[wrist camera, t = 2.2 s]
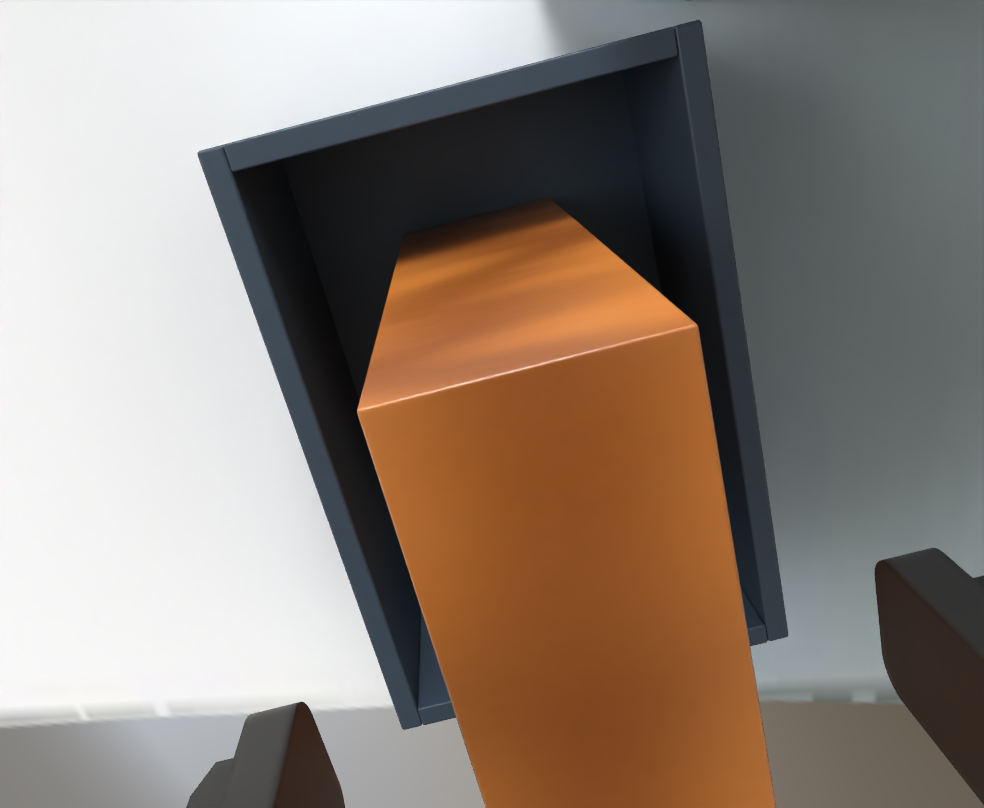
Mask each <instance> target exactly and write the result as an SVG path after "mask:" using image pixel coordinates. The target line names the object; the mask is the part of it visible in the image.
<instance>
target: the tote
mask: <svg viewBox="0 0 984 808" xmlns="http://www.w3.org/2000/svg"><path fill="white" fill-rule="evenodd" d="M198 158H199V160H200V163H201V166H202V169H203V172H204V174H205V177H206V180H207V183H208V186H209V188H210V191H211V194H212V197H213V200H214V202H215V205H216V208H217V211H218V214H219V216H220V219H221V222H222V225H223V228H224V230H225V233H226V236H227V239H228V242H229V244H230V247H231V250H232V253H233V256H234V258H235V261H236V264H237V267H238V270H239V272H240V275H241V278H242V281H243V284H244V286H245V289H246V292H247V295H248V298H249V300H250V303H251V306H252V309H253V312H254V314H255V317H256V320H257V323H258V326H259V329H260V331H261V334H262V337H263V340H264V343H265V345H266V348H267V351H268V354H269V357H270V359H271V362H272V365H273V368H274V371H275V373H276V376H277V379H278V382H279V385H280V387H281V390H282V393H283V396H284V399H285V401H286V404H287V407H288V410H289V413H290V415H291V418H292V421H293V424H294V427H295V429H296V432H297V435H298V438H299V441H300V443H301V446H302V449H303V452H304V455H305V457H306V460H307V463H308V466H309V469H310V471H311V474H312V477H313V480H314V483H315V485H316V488H317V491H318V494H319V497H320V500H321V502H322V505H323V508H324V511H325V514H326V516H327V519H328V522H329V525H330V528H331V530H332V533H333V536H334V539H335V542H336V544H337V547H338V550H339V553H340V556H341V558H342V561H343V564H344V567H345V570H346V572H347V575H348V578H349V581H350V584H351V586H352V589H353V592H354V595H355V598H356V600H357V603H358V606H359V609H360V612H361V614H362V617H363V620H364V623H365V626H366V628H367V631H368V634H369V637H370V640H371V642H372V645H373V648H374V651H375V654H376V656H377V659H378V662H379V665H380V668H381V670H382V673H383V676H384V679H385V682H386V685H387V687H388V690H389V693H390V696H391V699H392V701H393V704H394V707H395V710H396V713H397V715H398V718H399V721H400V724H401V727H402V729H409V728H413V727H417V726H421V725H422V723H423V725H427V724H431V723H435V722H439V721H443V720H447V719H451V718H456V715H455V712H454V709H453V706H452V703H451V699H450V696H449V693H448V690H447V687H446V684H445V681H444V678H443V675H442V672H441V669H440V666H439V663H438V660H437V656H436V653H435V650H434V647H433V644H432V641H431V638H430V635H429V632H428V629H427V626H426V623H425V620H424V617H423V613H422V610H421V607H420V604H419V601H418V598H417V595H416V592H415V589H414V586H413V583H412V580H411V577H410V574H409V570H408V567H407V564H406V561H405V558H404V555H403V552H402V549H401V546H400V543H399V540H398V537H397V534H396V531H395V527H394V524H393V521H392V518H391V515H390V512H389V509H388V506H387V503H386V500H385V497H384V494H383V491H382V488H381V484H380V481H379V478H378V475H377V472H376V469H375V466H374V463H373V460H372V457H371V454H370V451H369V448H368V445H367V441H366V438H365V435H364V432H363V429H362V426H361V423H360V420H359V417H358V414H357V409H358V406H359V402H360V398H361V394H362V390H363V387H364V383H365V379H366V375H367V371H368V368H369V364H370V360H371V356H372V352H373V349H374V345H375V341H376V337H377V334H378V330H379V326H380V322H381V318H382V315H383V311H384V307H385V303H386V299H387V296H388V292H389V288H390V284H391V280H392V277H393V273H394V269H395V265H396V261H397V258H398V254H399V250H400V246H401V242H402V239H403V235H405V234H409V233H413V232H416V231H420V230H424V229H428V228H432V227H436V226H440V225H443V224H447V223H451V222H455V221H459V220H463V219H467V218H471V217H474V216H478V215H482V214H486V213H490V212H494V211H498V210H501V209H505V208H509V207H513V206H517V205H521V204H525V203H529V202H532V201H536V200H540V199H544V198H550V199H552V200H553V201H554V202H555V203H556V204H557V205H559V206H560V207H561V208H562V209H563V210H564V211H566V212H567V213H568V214H569V215H570V216H571V217H573V218H574V219H575V220H576V221H577V222H578V223H580V224H581V225H582V226H583V227H584V228H585V229H587V230H588V231H589V232H590V233H591V234H592V235H594V236H595V237H596V238H597V239H598V240H599V241H601V242H602V243H603V244H604V245H605V246H606V247H608V248H609V249H610V250H611V251H612V252H613V253H615V254H616V255H617V256H618V257H619V258H620V259H622V260H623V261H624V262H625V263H626V264H627V265H629V266H630V267H631V268H632V269H633V270H634V271H636V272H637V273H638V274H639V275H640V276H641V277H643V278H644V279H645V280H646V281H647V282H648V283H650V284H651V285H652V286H653V287H654V288H655V289H656V290H658V291H659V292H660V293H661V294H662V295H663V296H665V297H666V298H667V299H668V300H669V301H670V302H672V303H673V304H674V305H675V306H676V307H677V308H679V309H680V310H681V311H682V312H683V313H684V314H686V315H687V316H688V317H689V318H690V319H691V320H693V321H694V322H695V323H696V324H697V325H698V328H699V335H700V341H701V347H702V353H703V359H704V365H705V372H706V378H707V384H708V390H709V396H710V402H711V409H712V415H713V421H714V427H715V433H716V439H717V446H718V452H719V458H720V464H721V470H722V476H723V483H724V489H725V495H726V501H727V507H728V513H729V520H730V526H731V532H732V538H733V544H734V550H735V557H736V563H737V569H738V575H739V581H740V587H741V594H742V600H743V606H744V612H745V618H746V624H747V631H748V637H749V643H750V646H753V645H757V644H761V643H765V642H767V641H768V640H769V641H772V640H777V639H781V638H785V637H787V636H788V629H787V622H786V615H785V608H784V601H783V594H782V586H781V579H780V572H779V565H778V558H777V551H776V544H775V537H774V530H773V523H772V516H771V509H770V502H769V495H768V488H767V481H766V474H765V466H764V459H763V452H762V445H761V438H760V431H759V424H758V417H757V410H756V403H755V396H754V389H753V382H752V375H751V368H750V361H749V353H748V346H747V339H746V332H745V325H744V318H743V311H742V304H741V297H740V290H739V283H738V276H737V269H736V262H735V255H734V248H733V240H732V233H731V226H730V219H729V212H728V205H727V198H726V191H725V184H724V177H723V170H722V163H721V156H720V149H719V142H718V135H717V128H716V120H715V113H714V106H713V99H712V92H711V85H710V78H709V71H708V64H707V57H706V50H705V43H704V36H703V29H702V22H701V21H700V20H696V21H692V22H688V23H684V24H680V25H677V26H674V27H669V28H665V29H661V30H657V31H654V32H650V33H646V34H642V35H638V36H635V37H631V38H627V39H623V40H619V41H616V42H612V43H608V44H604V45H600V46H597V47H593V48H589V49H585V50H581V51H578V52H574V53H570V54H566V55H562V56H559V57H555V58H551V59H547V60H543V61H540V62H536V63H532V64H528V65H524V66H521V67H517V68H513V69H509V70H505V71H502V72H498V73H494V74H490V75H486V76H483V77H479V78H475V79H471V80H467V81H463V82H460V83H456V84H452V85H448V86H444V87H441V88H437V89H433V90H429V91H425V92H422V93H418V94H414V95H410V96H406V97H403V98H399V99H395V100H391V101H387V102H384V103H380V104H376V105H372V106H368V107H365V108H361V109H357V110H353V111H349V112H346V113H342V114H338V115H334V116H330V117H327V118H323V119H319V120H315V121H311V122H308V123H304V124H300V125H296V126H292V127H289V128H285V129H281V130H277V131H273V132H270V133H266V134H262V135H258V136H254V137H251V138H247V139H243V140H239V141H235V142H232V143H228V144H225V145H220V146H216V147H213V148H209V149H205V150H201V151H199V152H198Z"/></svg>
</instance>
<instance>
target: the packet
mask: <svg viewBox="0 0 984 808" xmlns="http://www.w3.org/2000/svg"><path fill="white" fill-rule="evenodd" d="M357 414H358V417H359V420H360V423H361V426H362V429H363V432H364V435H365V438H366V441H367V445H368V448H369V451H370V454H371V457H372V460H373V463H374V466H375V469H376V472H377V475H378V478H379V481H380V484H381V488H382V491H383V494H384V497H385V500H386V503H387V506H388V509H389V512H390V515H391V518H392V521H393V524H394V527H395V531H396V534H397V537H398V540H399V543H400V546H401V549H402V552H403V555H404V558H405V561H406V564H407V567H408V570H409V574H410V577H411V580H412V583H413V586H414V589H415V592H416V595H417V598H418V601H419V604H420V607H421V610H422V613H423V617H424V620H425V623H426V626H427V629H428V632H429V635H430V638H431V641H432V644H433V647H434V650H435V653H436V656H437V660H438V663H439V666H440V669H441V672H442V675H443V678H444V681H445V684H446V687H447V690H448V693H449V696H450V699H451V703H452V706H453V709H454V712H455V715H456V718H457V721H458V724H459V727H460V730H461V733H462V736H463V739H464V742H465V746H466V748H467V752H468V755H469V758H470V761H471V764H472V767H473V770H474V773H475V776H476V779H477V782H478V785H479V788H480V791H481V794H482V798H483V801H484V803H485V807H486V808H776V803H775V797H774V792H773V785H772V779H771V772H770V766H769V760H768V755H767V748H766V741H765V735H764V729H763V723H762V717H761V712H760V705H759V698H758V692H757V686H756V680H755V674H754V668H753V661H752V655H751V649H750V643H749V637H748V631H747V624H746V618H745V612H744V606H743V600H742V594H741V587H740V581H739V575H738V569H737V563H736V557H735V550H734V544H733V538H732V532H731V526H730V520H729V513H728V507H727V501H726V495H725V489H724V483H723V476H722V470H721V464H720V458H719V452H718V446H717V439H716V433H715V427H714V421H713V415H712V409H711V402H710V396H709V390H708V384H707V378H706V372H705V365H704V359H703V353H702V347H701V341H700V335H699V328H698V325H697V324H696V323H695V322H694V321H693V320H691V319H690V318H689V317H688V316H687V315H686V314H684V313H683V312H682V311H681V310H680V309H679V308H677V307H676V306H675V305H674V304H673V303H672V302H670V301H669V300H668V299H667V298H666V297H665V296H663V295H662V294H661V293H660V292H659V291H658V290H656V289H655V288H654V287H653V286H652V285H651V284H650V283H648V282H647V281H646V280H645V279H644V278H643V277H641V276H640V275H639V274H638V273H637V272H636V271H634V270H633V269H632V268H631V267H630V266H629V265H627V264H626V263H625V262H624V261H623V260H622V259H620V258H619V257H618V256H617V255H616V254H615V253H613V252H612V251H611V250H610V249H609V248H608V247H606V246H605V245H604V244H603V243H602V242H601V241H599V240H598V239H597V238H596V237H595V236H594V235H592V234H591V233H590V232H589V231H588V230H587V229H585V228H584V227H583V226H582V225H581V224H580V223H578V222H577V221H576V220H575V219H574V218H573V217H571V216H570V215H569V214H568V213H567V212H566V211H564V210H563V209H562V208H561V207H560V206H559V205H557V204H556V203H555V202H554V201H553V200H552V199H550V198H544V199H540V200H536V201H532V202H529V203H525V204H521V205H517V206H513V207H509V208H505V209H501V210H498V211H494V212H490V213H486V214H482V215H478V216H474V217H471V218H467V219H463V220H459V221H455V222H451V223H447V224H443V225H440V226H436V227H432V228H428V229H424V230H420V231H416V232H413V233H409V234H405V235H403V239H402V242H401V246H400V250H399V254H398V258H397V261H396V265H395V269H394V273H393V277H392V280H391V284H390V288H389V292H388V296H387V299H386V303H385V307H384V311H383V315H382V318H381V322H380V326H379V330H378V334H377V337H376V341H375V345H374V349H373V352H372V356H371V360H370V364H369V368H368V371H367V375H366V379H365V383H364V387H363V390H362V394H361V398H360V402H359V406H358V409H357Z"/></svg>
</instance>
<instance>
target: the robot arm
mask: <svg viewBox="0 0 984 808" xmlns="http://www.w3.org/2000/svg"><path fill="white" fill-rule="evenodd" d="M875 584H876V594H877V605H878V615H879V626H880V637H881V647H882V655H883V660H884V664H885V667H886V670H887V673H888V676H889V678H890V681H891V683H892V685H893V687H894V689H895V691H896V692H897V694H898V696H899V697H900V699H901V700H902V702H903V703H904V704H905V705H906V707H907V708H908V709H909V710H910V712H911V713H912V714H913V716H914V717H915V718H916V719H917V721H918V722H919V723H920V724H921V726H922V727H923V728H924V729H925V731H926V732H927V733H928V734H929V736H930V737H931V738H932V739H933V741H934V742H935V743H936V744H937V746H938V747H939V748H940V750H941V751H942V752H943V753H944V755H945V756H946V757H947V759H948V760H949V761H950V762H951V764H952V765H953V766H954V768H955V769H956V770H957V771H958V773H959V774H960V775H961V776H962V778H963V779H964V780H965V781H966V783H967V784H968V785H969V786H970V788H971V789H972V790H973V792H974V793H975V794H976V795H977V797H978V798H979V799H980V800H981V802H982V803H983V804H984V576H980V577H976V578H972V577H971V576H970V575H968V574H967V573H966V572H965V571H964V570H963V569H962V568H960V567H959V566H958V565H957V564H956V563H955V562H954V561H952V560H951V559H950V558H949V557H948V556H947V555H946V554H944V553H943V552H942V551H941V550H939V549H937V548H930V549H926V550H922V551H918V552H914V553H910V554H905V555H901V556H897V557H893V558H889V559H885V560H881V561H879V562H877V564H876V567H875ZM187 808H345V804H344V799H343V794H342V790H341V787H340V783H339V781H338V778H337V776H336V773H335V771H334V768H333V766H332V763H331V761H330V758H329V756H328V753H327V751H326V748H325V746H324V743H323V741H322V738H321V735H320V733H319V731H318V728H317V726H316V723H315V720H314V718H313V715H312V713H311V711H310V709H309V707H308V706H307V705H306V704H305V703H304V702H299V703H295V704H291V705H287V706H282V707H278V708H274V709H270V710H266V711H262V712H258V713H254V714H251V715H249V716H248V717H247V719H246V721H245V723H244V726H243V730H242V733H241V736H240V739H239V743H238V746H237V749H236V752H235V756H234V758H232V759H228V760H224V761H220V762H216V763H215V765H214V766H213V767H212V768H211V770H210V771H209V772H208V774H207V775H206V776H205V778H204V779H203V781H202V782H201V783H200V784H199V786H198V787H197V788H196V790H195V791H194V792H193V793H192V795H191V796H190V799H189V802H188V805H187Z"/></svg>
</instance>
